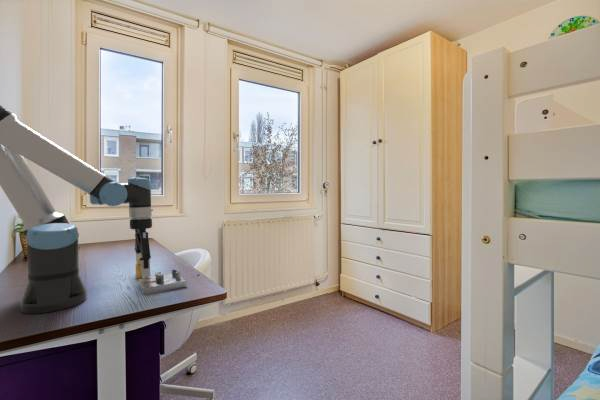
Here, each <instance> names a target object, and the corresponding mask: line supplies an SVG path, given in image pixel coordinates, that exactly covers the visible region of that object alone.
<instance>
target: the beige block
mask: <svg viewBox="0 0 600 400" xmlns="http://www.w3.org/2000/svg"><path fill="white" fill-rule="evenodd" d="M144 278H147V277H144ZM144 278H142V268H141V261H140V259H137V264H136V263H135V279H137V280H139V279H144Z"/></svg>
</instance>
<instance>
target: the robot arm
mask: <svg viewBox="0 0 600 400" xmlns="http://www.w3.org/2000/svg"><path fill="white" fill-rule="evenodd" d="M26 159H27V160H28V161H30V162H32V163H34V164H36V165H37V166H39V167H41V168H43V170H44V169H45V170H46V171H48V172H50V173H51V174H53V175H54V176H56V177H58V178H60V179H62V180H64V181H65V182H68V183H69V184H71V185H72V186H74V187H76V188H77V189H79V190H81V191H83V192H84V193H86V194H88V195H89V203H90V204H91V205H100V206H101V205H107V206H109V207H117V206H120V205H122V204H128V214H129V215H128V216H129V219H130V220H129V229H131V230H134V231H135V233H134V251H135V265H136V264H137V259H140V261H141V268H142V279H144V277H146V278H150V277H151V258H152V256H151V250H150V241H149V240H150V239H149V232H148V231H147V229H151V228H153V219H152V216H153V215H152V212H153V211H154V209H153V208H152V192H151V191H152V189H151V182H150V179H149V178H147V177H129V178H128V179H127V182H126V183H125V182H124V183H121V182H117V181H115V180H113V179H112V178H110V177H108V176H106V175H105V174H104V173H102V172H101V171H99V170H98V169H96V168H95V167H93V166H92V165H89V164H88V163H86V162H84V161H83V160H81V159H79V158H78V157H77V156H75V155H74V154H73V153H70V152H69V151H68V150H65V149H64V148H63V147H61V146H59V145H57V144H56V143H54V142H53V141H51V140H49V139H48V138H47V137H45V136H43V135H41V134H40V133H38V132H37V131H35V130H33V129H32V128H30V127H29V126H27V125H26V124H24V123H23V122H21V121H19V120H18V117H17V114H15V113H13V112H12V111H11V110H9V109H8V108H6V107H4V106H3V105H2V104H0V187H1V189H2V190H3V193H4V194H5V196H6V197H7V199H8V201H9V202H10V203H11V205H12V207H13V208H14V209H15V212H16V213H17V215H18V216H19V218H20V219H21V221H22V222H23V226H22V228H21V230H20V231H21V232H22V234H23V236H24V238H25V242H26V255H27V284H26V287H25V290H24V293H23V296H22V298H21V301H20V312H21V313H23V314H30V315H31V314H34V315H35V314H36V315H37V314H45V313H53V312H58V311H61V310H64V309H65V310H66V309H69V308H72V307H74V306H77V305H80V304H82V303H83V302H84V301H86V300H87V297H88V295H87V289H86V287H85V284H84V282H83V280H82V278H81V276H80V275H81V274H80V268H79V267H80V263H79V262H80V259H79V257H80V256H79V235H80V234H79V231H78V227H77V226H76V225H75V224H71V223H70V222H69V220H68V218H67V216H66V215H65V214H64V213H60V212H58V211H56V209H55V208H54V206H53V204H52V202H51V201H50V198H49V197H48V196H47V194H46V193H45V191H44V189H43V187H42V185H41V184H40V182H39V180H38V178H37V177H36V175H35V174H34V172H33V170H32V168H31V166H30V165H29V163H28V161H27V160H26Z"/></svg>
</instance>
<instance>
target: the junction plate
mask: <svg viewBox="0 0 600 400" xmlns="http://www.w3.org/2000/svg"><path fill="white" fill-rule="evenodd" d="M171 271H172V272H171V273H169V274H161V273H162V272H161V271H157V272H155V275H154V276H150V277H146V278H142V279H138V286H139V288H140V290H141V291H142V293H143V295H149V294H154V293H158V292H160V293H161V292H164V291H166V292H167V291H171V290H175V289H181V288H186V287H187V280H186V279H184V277H182V276H181V270H180V269H178V268H177V269H175V268H174V269H172V270H171Z"/></svg>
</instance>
